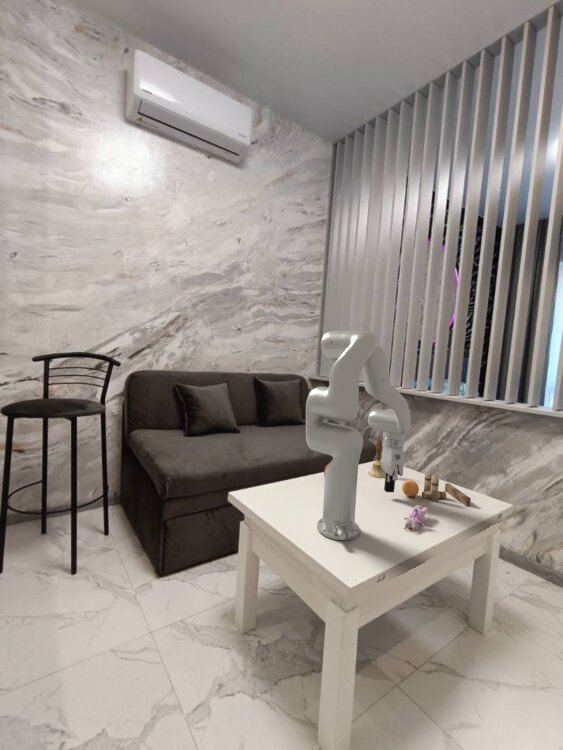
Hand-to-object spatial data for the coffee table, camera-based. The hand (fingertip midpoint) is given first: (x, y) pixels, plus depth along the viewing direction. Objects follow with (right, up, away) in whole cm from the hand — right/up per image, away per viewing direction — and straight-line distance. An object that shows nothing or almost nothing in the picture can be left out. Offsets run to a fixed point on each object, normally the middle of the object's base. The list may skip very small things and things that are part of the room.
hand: (389, 491), depth 131 cm
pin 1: (+16, -3, +5) cm, 17 cm away
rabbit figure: (+3, -4, -18) cm, 19 cm away
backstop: (+27, -4, +3) cm, 27 cm away
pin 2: (+16, -3, 0) cm, 17 cm away
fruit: (-19, -1, +16) cm, 24 cm away
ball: (+9, 0, +3) cm, 9 cm away
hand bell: (+3, -1, +25) cm, 26 cm away
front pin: (+13, -2, +2) cm, 14 cm away
